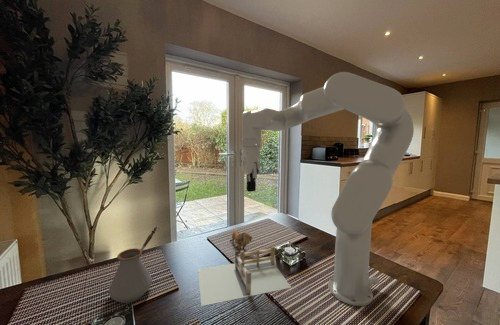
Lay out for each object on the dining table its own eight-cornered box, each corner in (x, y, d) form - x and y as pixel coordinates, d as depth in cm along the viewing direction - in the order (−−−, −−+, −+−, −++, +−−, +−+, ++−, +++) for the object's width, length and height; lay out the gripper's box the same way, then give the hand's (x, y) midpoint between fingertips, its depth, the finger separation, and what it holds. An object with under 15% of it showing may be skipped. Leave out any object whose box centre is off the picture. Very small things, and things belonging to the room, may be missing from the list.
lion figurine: (254, 253, 90) (254, 232, 89) (243, 257, 86) (243, 236, 86) (234, 240, 101) (234, 221, 100) (224, 243, 98) (224, 224, 97)
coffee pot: (137, 310, 59) (135, 258, 58) (99, 306, 61) (95, 255, 59) (173, 265, 80) (172, 227, 79) (144, 263, 82) (142, 225, 80)
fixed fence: (273, 262, 82) (273, 246, 81) (274, 264, 81) (274, 247, 80) (239, 268, 78) (239, 250, 78) (240, 269, 77) (240, 252, 77)
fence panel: (234, 267, 78) (234, 250, 77) (237, 267, 78) (238, 250, 78) (247, 293, 65) (247, 273, 64) (250, 292, 65) (251, 272, 64)
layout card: (270, 259, 85) (270, 257, 85) (291, 288, 68) (291, 287, 68) (197, 270, 77) (197, 268, 77) (201, 307, 60) (201, 305, 60)
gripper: (237, 143, 89) (237, 187, 91) (247, 144, 74) (247, 196, 76) (254, 143, 91) (254, 186, 93) (267, 144, 77) (266, 194, 78)
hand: (251, 190), depth 84 cm, fingers closed
